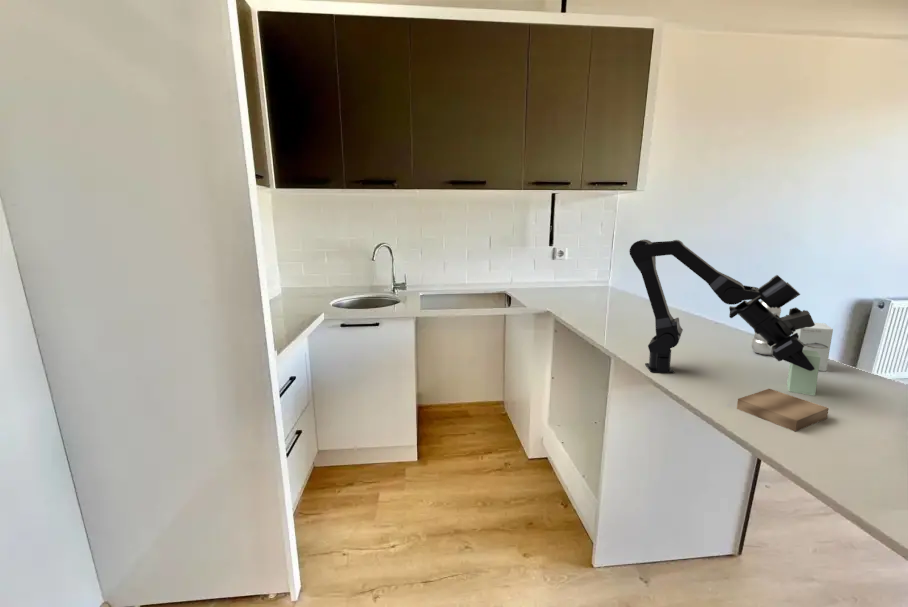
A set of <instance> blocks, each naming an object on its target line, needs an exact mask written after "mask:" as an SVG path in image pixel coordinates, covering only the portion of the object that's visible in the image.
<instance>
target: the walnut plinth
mask: <svg viewBox="0 0 908 607" xmlns="http://www.w3.org/2000/svg"><path fill="white" fill-rule="evenodd" d="M736 409H737V410H739V411H742V412H744V413H747V414H749V415H752V416H754V417H757V418H760V419H763V420H764V421H767V422H770V423H772V424H776V425H777V426H780V427H783V428H785V429H788V430H791V431H793V432H797V431H801V430H803V429H805V428H807V427H810V426H812V425H815V424H817V423H820V422H821V421H825V420H827V419H828V417H829V407H827V406H824V405H822V404H818V403H814V402H812V401H809V400H805V399H802V398H799V397H796V396H793V395H790V394H787V393H785V392H784V393H783V392H781V391H778V390H774V389H771V388H767V389H764V390H761V391H757V392H754V393H751V394H748V395H746V396H743V397H738V398H737V405H736Z"/></svg>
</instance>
